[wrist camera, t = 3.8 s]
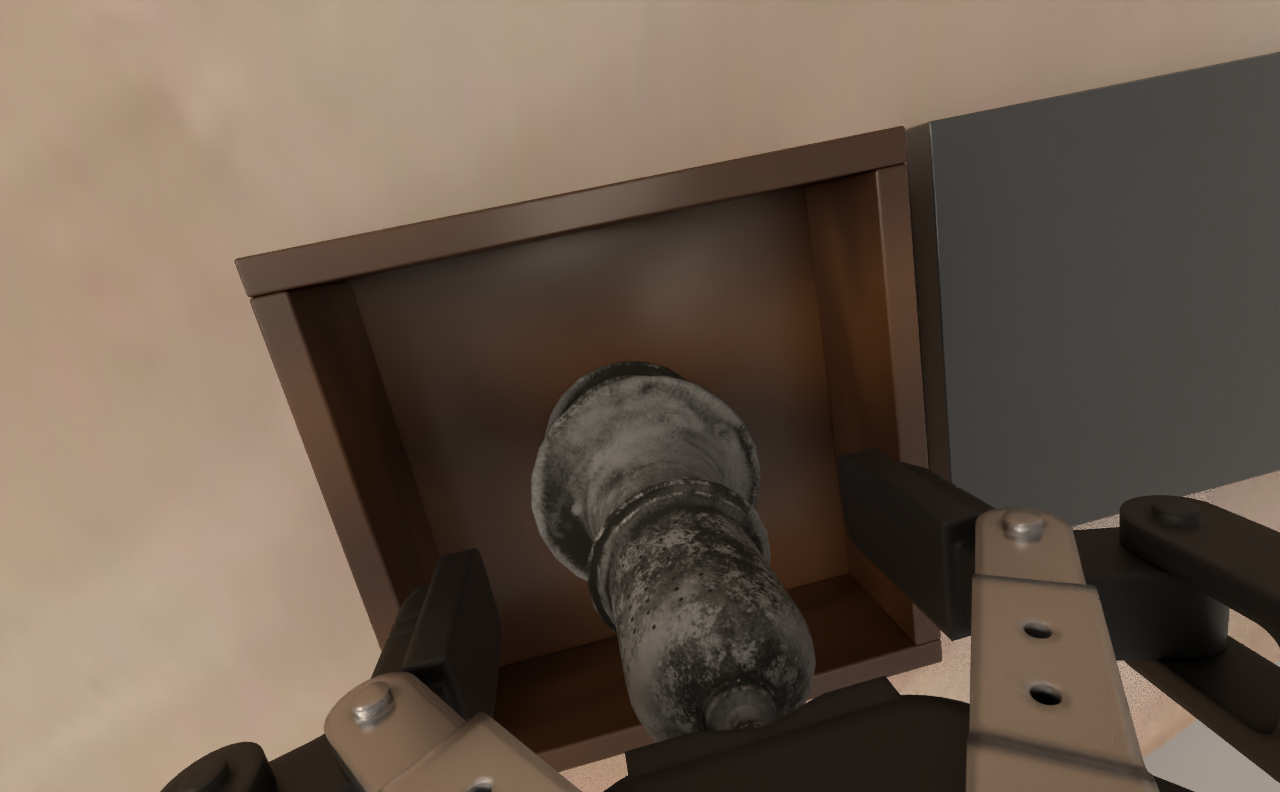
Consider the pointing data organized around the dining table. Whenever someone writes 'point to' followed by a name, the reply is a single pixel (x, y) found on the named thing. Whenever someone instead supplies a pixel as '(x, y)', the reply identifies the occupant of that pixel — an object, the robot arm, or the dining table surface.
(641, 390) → the stone chess piece
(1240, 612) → the robot arm
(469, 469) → the wooden box
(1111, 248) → the slate board
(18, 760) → the dining table surface
